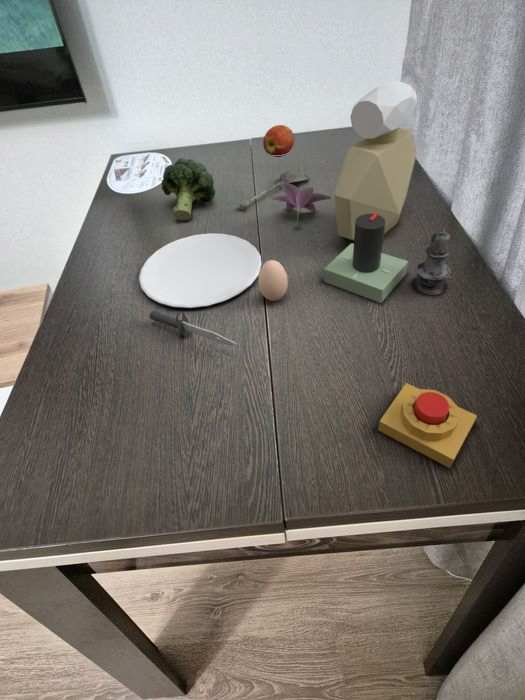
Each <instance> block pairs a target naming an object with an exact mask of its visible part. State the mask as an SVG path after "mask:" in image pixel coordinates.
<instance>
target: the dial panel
mask: <svg viewBox="0 0 525 700" xmlns="http://www.w3.org/2000/svg"><path fill="white" fill-rule="evenodd" d="M353 249H354V242H353V243H352V242H351V243H350V244H349V245H348V246H347V247H346V248H344V249H343V250H342V251H341V252H340V253H339V254H338V255H337V256H336V257H335V258H334V259H333V260H332V261H331V262H330V263H329V264H327V265H326V266H325V267H324V268H323V282H324V283H327V284H329V285H332V286H334V287H337V288H340V289H342V290H345V291H347V292H351V293H353V294H355V295H358V296H361V297H364V298H366V299H369V300H371V301H374V302H376V303H379V304H382V303H383V302H384V300H385V299H386V298H387V297H388V296H389V295H390V293H392V291H393V290H394V289H395V288H396V287H397V285H398V284H399V283H400V282H401V281H402V280H403V278H404V277H405V276H406V275H407V270H408V267H409V266H408V265H409V261H408V260H406V259H403V258H400V257H396V256H394V255H390V254H387V253H384V252H382V253H381V261H380V267H379V268H378V269H377V270H376V271H374V272H369V273H364V272H359V271H357V270H355V269H354V267H353V265H352V262H353Z"/></svg>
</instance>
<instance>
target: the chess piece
mask: <svg viewBox="0 0 525 700" xmlns="http://www.w3.org/2000/svg"><path fill="white" fill-rule="evenodd" d="M445 230H446V229H445V227H444V226H443V227H441V228H440V229H439V230H436V231H434V232H433V233H432V235H431V238H430V243H429V246H428V247H427V248H426V250H425V252H426V258H425V260H423V261H420V262H419V263H417V264H416V266H415V272H416V276H417V279H416V280H414V283H413V285H414V289H415V290H416V291H418V292H420V293H421V294H424V295H427V296H428V295H429V296H435V295H439V294H442V293H443V292H444V291H445V288H446V284H445V281H446V280H447V279H448V277H450V276H451V272H452V271H451V267H450V266H449V265H448V264H447V263H445V262H446V257H447V256H448V255H449V250H448V247H449V244H450V240H451V235H450V234H449V232H448V231H445Z"/></svg>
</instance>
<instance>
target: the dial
mask: <svg viewBox="0 0 525 700" xmlns="http://www.w3.org/2000/svg"><path fill="white" fill-rule="evenodd" d="M384 230H385V219H384V218H383V217H382V216H380V215H379V213H375V214H364V215H361V216H359V217H358V218H357V219H356V221H355V235H354V241H353V244H354V249H353V262H352V265H353V267H354V269H355V270H357V271H359V272H364V273H369V272H374V271H376V270H377V269H378V268H379V267H380V261H381V253H383V245H384V238H385V233H384Z"/></svg>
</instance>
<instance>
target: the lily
mask: <svg viewBox="0 0 525 700" xmlns="http://www.w3.org/2000/svg"><path fill="white" fill-rule="evenodd" d="M279 182H280V184H281V185H280V186H281V189H282V190H283V193H284V195H277V196H273V197H272V198H271V199H272V200H274V201H279V202H285V207H286V209H287V210H292V209H295V208H296V209H297V213H296V226H297V227H296V228H297V229H299V227H300V225H299V223H300V222H299V218H300V217H299V216H300V215H299V214H300V210H301V209H302V208H304V209H307V210H309V211H311V212H313V213H316V212H317V209H316V205H315V204H314V203H317V202H320V201H327V200H331V199H332V197H331V196H329V195H326V194H322V193H317V192H314V187H313V186H308V187H305V188H302V189H300V188H299V187H298V186H296V185H294V184H291V183H285V182H281V181H279Z"/></svg>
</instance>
